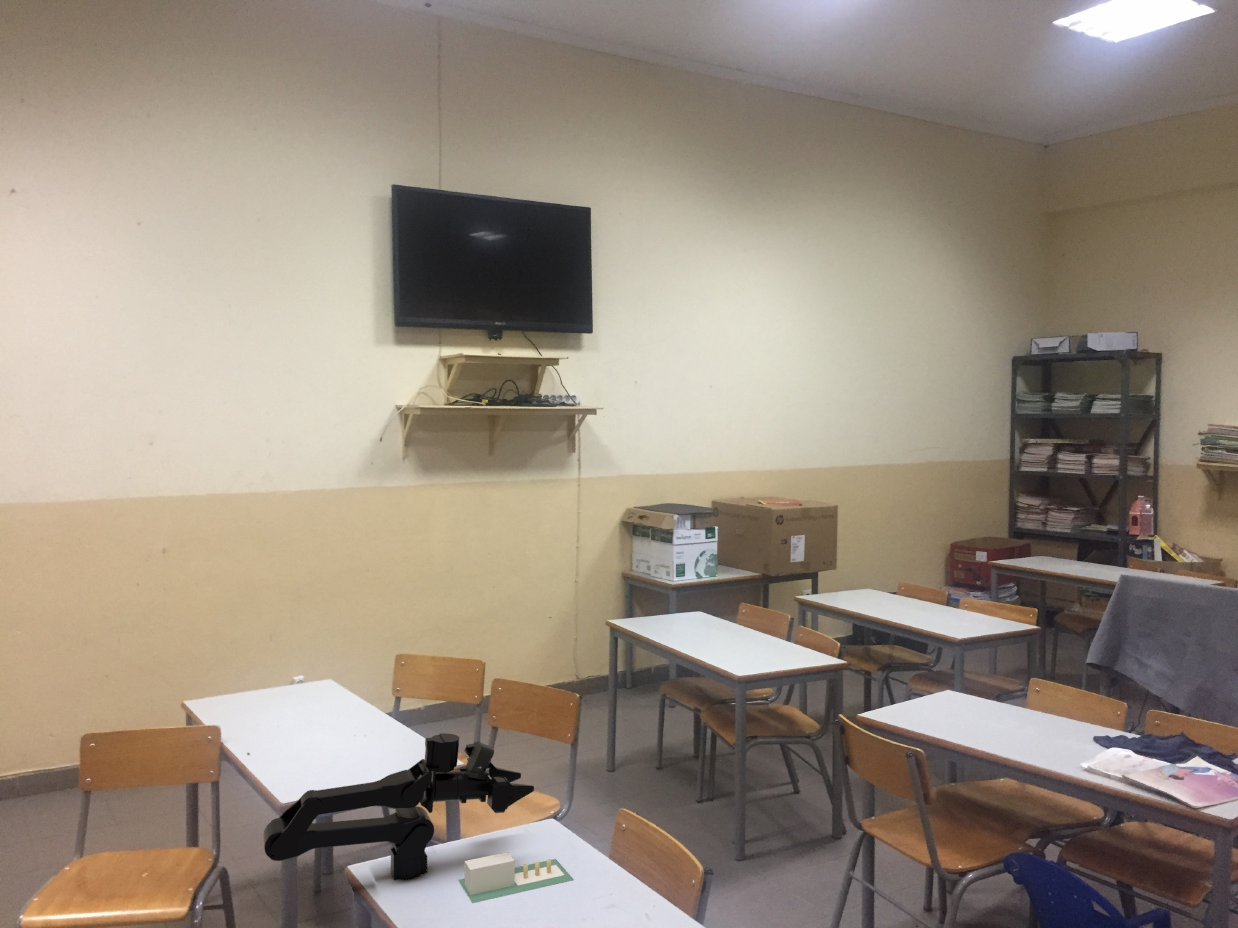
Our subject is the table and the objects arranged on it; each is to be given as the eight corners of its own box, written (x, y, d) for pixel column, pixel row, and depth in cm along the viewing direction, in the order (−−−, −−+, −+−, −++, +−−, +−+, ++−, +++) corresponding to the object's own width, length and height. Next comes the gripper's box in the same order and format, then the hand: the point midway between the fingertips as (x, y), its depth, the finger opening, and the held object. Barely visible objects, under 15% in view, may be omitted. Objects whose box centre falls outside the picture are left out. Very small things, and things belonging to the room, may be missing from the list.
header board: (472, 907, 176) (472, 889, 176) (458, 884, 185) (458, 867, 185) (574, 884, 185) (574, 867, 185) (555, 863, 194) (555, 846, 194)
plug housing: (470, 894, 179) (470, 869, 178) (464, 885, 182) (464, 860, 182) (514, 885, 182) (514, 860, 182) (508, 876, 186) (508, 851, 186)
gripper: (468, 758, 182) (543, 755, 188) (447, 734, 199) (517, 732, 206) (464, 816, 182) (539, 810, 188) (444, 786, 199) (513, 783, 205)
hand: (527, 781), depth 197 cm, fingers open, 9 cm apart
